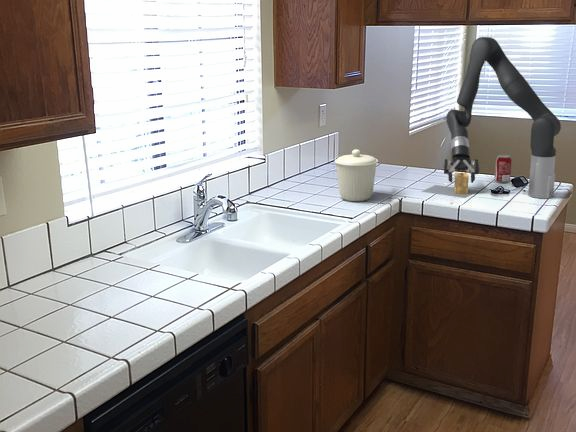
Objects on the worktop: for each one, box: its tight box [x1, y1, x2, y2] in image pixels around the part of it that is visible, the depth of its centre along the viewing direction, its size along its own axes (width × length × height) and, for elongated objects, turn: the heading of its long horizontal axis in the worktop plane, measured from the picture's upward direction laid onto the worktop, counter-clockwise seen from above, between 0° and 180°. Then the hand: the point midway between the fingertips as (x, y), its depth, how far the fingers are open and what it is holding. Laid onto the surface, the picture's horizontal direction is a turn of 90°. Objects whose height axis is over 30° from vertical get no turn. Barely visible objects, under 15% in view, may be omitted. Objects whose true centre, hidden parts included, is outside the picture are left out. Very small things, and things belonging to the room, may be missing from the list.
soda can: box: [494, 154, 512, 184], centre depth 289 cm, size 7×7×12 cm
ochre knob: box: [453, 172, 469, 194], centre depth 267 cm, size 5×5×8 cm
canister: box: [333, 149, 379, 202], centre depth 267 cm, size 18×18×21 cm
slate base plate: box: [421, 184, 479, 199], centre depth 271 cm, size 20×14×2 cm
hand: (461, 181), depth 266 cm, fingers open, 8 cm apart
